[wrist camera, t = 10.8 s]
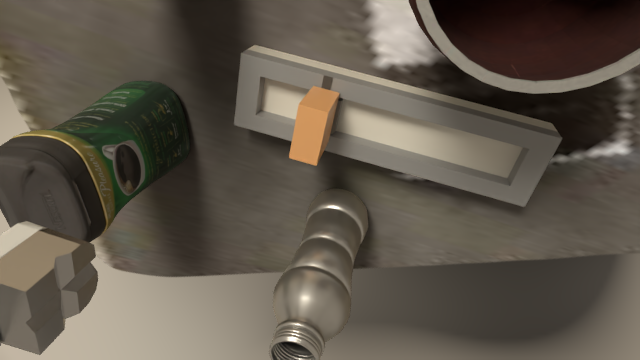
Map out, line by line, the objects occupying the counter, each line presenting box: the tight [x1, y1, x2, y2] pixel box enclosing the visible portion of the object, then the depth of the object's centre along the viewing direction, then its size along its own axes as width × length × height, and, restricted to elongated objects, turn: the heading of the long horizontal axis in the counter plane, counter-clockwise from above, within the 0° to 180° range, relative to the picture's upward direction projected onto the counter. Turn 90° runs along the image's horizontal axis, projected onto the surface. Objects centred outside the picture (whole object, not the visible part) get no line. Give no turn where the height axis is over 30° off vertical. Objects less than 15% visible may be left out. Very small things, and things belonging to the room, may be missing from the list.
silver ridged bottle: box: [269, 188, 368, 360], centre depth 38 cm, size 6×7×20 cm
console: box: [234, 45, 562, 207], centre depth 39 cm, size 28×7×4 cm, turn 78°
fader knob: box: [289, 86, 343, 166], centre depth 37 cm, size 3×5×7 cm, turn 168°
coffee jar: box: [0, 81, 190, 242], centre depth 39 cm, size 10×8×19 cm
